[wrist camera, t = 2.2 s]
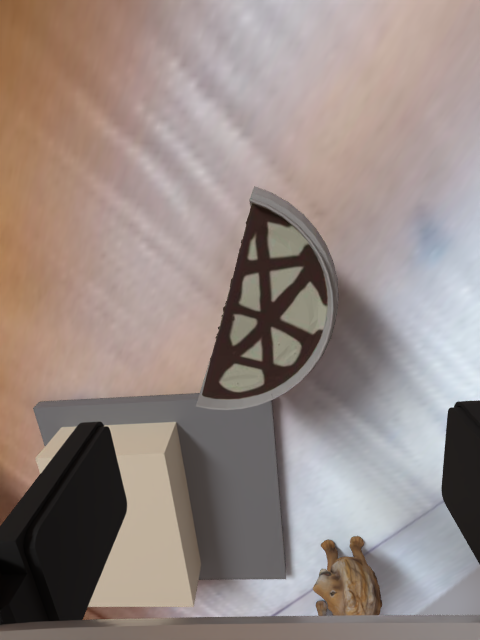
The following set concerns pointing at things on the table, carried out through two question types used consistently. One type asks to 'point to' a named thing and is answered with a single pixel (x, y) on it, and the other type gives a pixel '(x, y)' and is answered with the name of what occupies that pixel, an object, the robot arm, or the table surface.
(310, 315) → the food container
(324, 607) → the lion figurine
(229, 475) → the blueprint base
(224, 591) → the table surface
